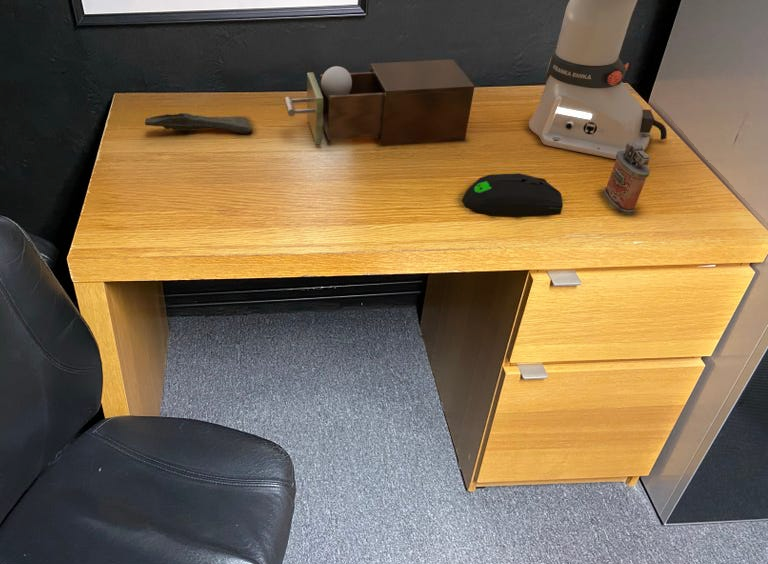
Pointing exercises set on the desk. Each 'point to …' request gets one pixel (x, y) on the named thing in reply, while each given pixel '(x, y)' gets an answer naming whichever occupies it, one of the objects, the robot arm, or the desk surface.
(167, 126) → the tool
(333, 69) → the light bulb
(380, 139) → the cabinet
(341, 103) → the drawer
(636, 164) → the lighter
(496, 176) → the computer mouse
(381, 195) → the desk surface
